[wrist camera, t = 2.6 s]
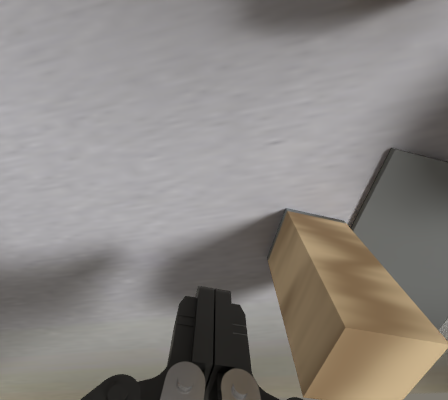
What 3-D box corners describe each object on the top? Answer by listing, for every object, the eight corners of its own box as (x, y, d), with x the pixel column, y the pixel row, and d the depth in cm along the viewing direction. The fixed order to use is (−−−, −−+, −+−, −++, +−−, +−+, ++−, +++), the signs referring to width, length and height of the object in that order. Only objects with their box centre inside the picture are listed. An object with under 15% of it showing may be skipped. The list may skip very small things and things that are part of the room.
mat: (546, 187, 19) (552, 189, 18) (423, 340, 25) (426, 344, 25) (391, 147, 17) (395, 149, 17) (303, 320, 24) (305, 324, 23)
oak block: (343, 220, 20) (450, 344, 11) (320, 268, 21) (394, 409, 12) (285, 208, 19) (345, 327, 10) (267, 258, 21) (303, 397, 12)
